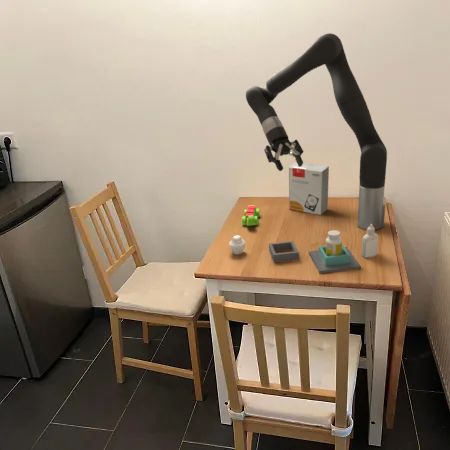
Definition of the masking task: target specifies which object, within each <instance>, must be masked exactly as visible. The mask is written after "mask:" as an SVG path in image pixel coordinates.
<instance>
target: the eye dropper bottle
mask: <svg viewBox="0 0 450 450" xmlns="http://www.w3.org/2000/svg"><path fill="white" fill-rule="evenodd" d="M375 231H376V230H375V228H374V227H373V225H372V224H370V227H368V228H367V230H366V234H364V235H363V236H362V240H361V257H362V258H364V259H371V258H374V257H376V256H377V255H378V252H379V235H378V234H377V233H376V232H375Z"/></svg>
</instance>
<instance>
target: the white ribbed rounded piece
mask: <svg viewBox="0 0 450 450" xmlns="http://www.w3.org/2000/svg"><path fill="white" fill-rule="evenodd" d="M246 243H247V242H246V241H245V240H244V239H243V238H242V236H241V235H234V236H232V237H231V240H230V241H229V243H228V245H229V248H230V250H231V251H232V253H233V254H234V255H241V254H242V253H243V252H244V251H245V248H246Z"/></svg>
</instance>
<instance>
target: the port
mask: <svg viewBox="0 0 450 450" xmlns="http://www.w3.org/2000/svg"><path fill="white" fill-rule="evenodd" d="M308 255H309V257H310V258H311V261H312V263H313V264H314V265H315V268H316V270H317V271H318V273H319V274H328V273H337V272H344V271H352V270H362V265H361V264H360V263H359V261H358V260H357V259H356V257H355V256H354V255H353V253H352V251H350V249H349V248H348V246H345V245H344V244H343V243H342V255H335V256H327V255H326V245H321V246H318V249H317V250H310V251H308Z"/></svg>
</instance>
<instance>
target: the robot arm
mask: <svg viewBox="0 0 450 450" xmlns="http://www.w3.org/2000/svg"><path fill="white" fill-rule="evenodd" d="M322 66H325V67H326V69H327V71H328V73H329V76H330V77H331V79H330V80H331V83H332V89H333V94H334V99H335V103H336V104H337V105H336V106H337V107H338V110H339V111H340V114H341V116H342V117H343V119H344V121H345V122H346V124H347V125H348V126H349V128H350V129H351V131H352V133H354V136H355V137H356V139H357V142H358V146H359V148H360V158H359V159H360V160H359V186H358V188H359V189H358V208H357V209H358V210H357V226H358V228H360V229H363V230H366V231H367V228H368V227H370V224H372V225H373V227H374V228H375V231H376V230H378V229H381V228H384V227H385V214H386V204H385V203H384V200H385V199H384V198H385V187H386V186H385V185H386V173H387V162H388V151H387V147H386V146H385V144H384V142H383V141H382V139H381V137H380V135H379V133H378V131H377V130H376V128H375V126H374V122H373V119H372V115H371V112H370V109H369V107H368V104H367V101H366V99H365V97H364V95H363V92H362V91H361V88H360V86H359V84H358V82H357V80H356V77H355V75H354V73H353V72H352V70H351V67H350V65H349V62H348V59H347V56H346V53H345V49H344V45H343V42H342V40H341V39H340V38H339V36H337V35H336V34H334V33H330V32H329V33H325V34H323V35H321V36H320V37H318V38H316V40H315V41H314V42H313V43H312V44H311V45H310V46H309V47H308V48H307V49H306V50H305V51H304V52H303V53H302V54H300V55H299V56H298V57H297V58H296V59H295V60H293V61H292V62H290V63H288V64H287V65H285V66H283V67H282V68H281V69H278V71H276V72H275V73H274V74H272V75H271V76H269V78H267V79H266V82H265V87H263V88H262V87H260V86H259V85H252V86H249V87H248V88H247V89H246V91H245V100H246V103H248V106H249V107H250V109H251V110H252V112H253V113H254V114H255V115H256V116H257V118H258V121H259V123H260V125H261V128H262V131H263V134H264V136H265V138H266V139H267V142H268V144H269V145H266V146H265V148H264V149H263V150H264V153H265V156H266V159H267V161H268V163H274V165H275V167H276V169H277V170H278V171H279V172H281V171H283V170H284V166H283V164H282V162H281V160H280V157H282V156H286V155H287V156H291V157H293V158H295V159H294V160H295V163H296V162H297V164H298V166H299V167H301V166H302V165H303V163H304V161H303V159H302V155H303V153H304V149H303V148H302V146H301V144H300V142H299V141H298V139H295V140H294V141H291V140H290V139H289V136H288V133H287V131H286V129H285V127H284V125H283V123H282V121H281V119H280V118H279V116H278V113H277V111H276V109H275V108H274V107H273V106H272V105H271V103H272V102H273V101H274V100H275V99H276V98H277V96H279V94H280V93H282V92H284V91H285V90H286V89H288V88H289V87H291V86H292V85H294V84H295V83H297V81H298V80H300V79H301V78H302V77H303V76H304V75H307V74H308V73H309V72H311V71H313V70H315V69H317V68H319V67H322ZM273 152H274V153H275V154H274V155H273Z"/></svg>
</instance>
